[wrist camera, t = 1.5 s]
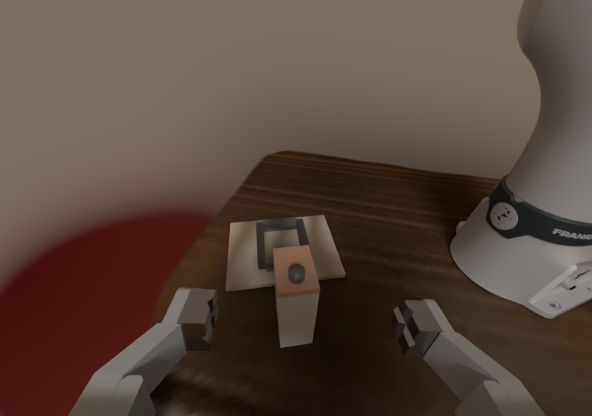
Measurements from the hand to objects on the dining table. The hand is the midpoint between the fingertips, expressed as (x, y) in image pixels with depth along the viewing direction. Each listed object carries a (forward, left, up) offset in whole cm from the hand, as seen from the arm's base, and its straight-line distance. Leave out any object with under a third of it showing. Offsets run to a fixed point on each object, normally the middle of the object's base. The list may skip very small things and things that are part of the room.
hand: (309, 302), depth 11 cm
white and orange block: (-1, -10, -22) cm, 24 cm away
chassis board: (-1, -23, -22) cm, 32 cm away
